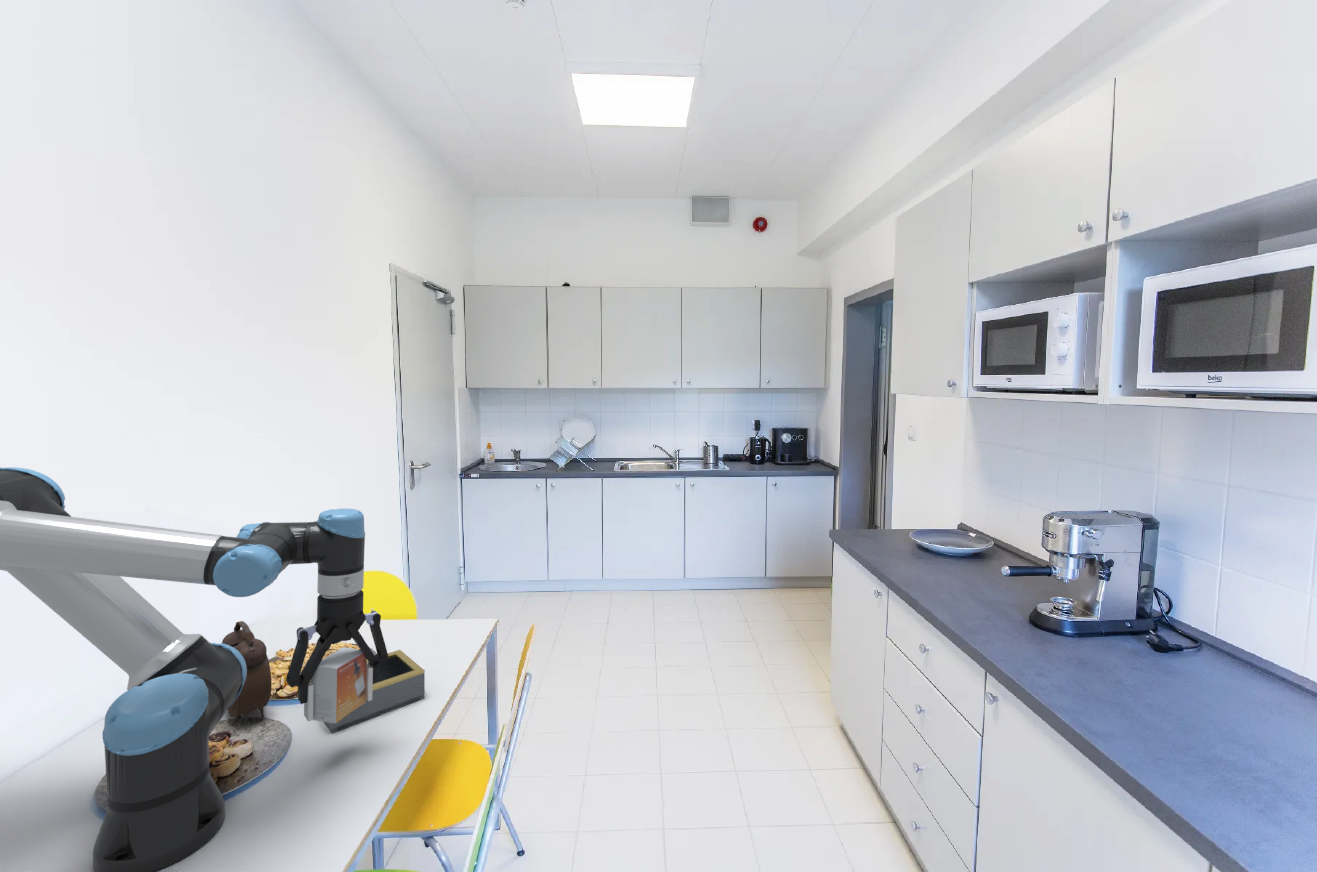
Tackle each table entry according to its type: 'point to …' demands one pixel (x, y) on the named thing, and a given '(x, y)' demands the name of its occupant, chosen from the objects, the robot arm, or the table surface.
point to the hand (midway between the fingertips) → (339, 707)
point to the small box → (339, 685)
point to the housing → (388, 690)
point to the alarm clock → (250, 672)
